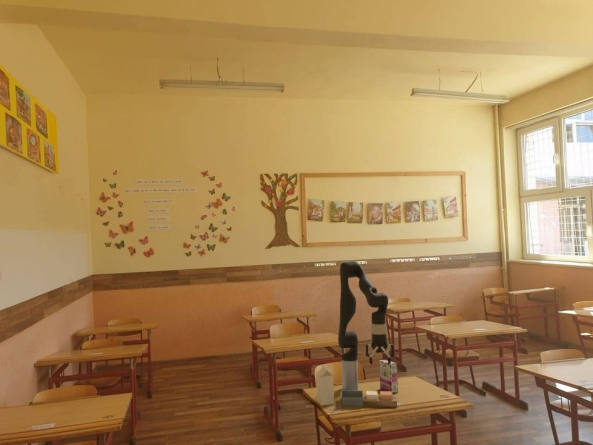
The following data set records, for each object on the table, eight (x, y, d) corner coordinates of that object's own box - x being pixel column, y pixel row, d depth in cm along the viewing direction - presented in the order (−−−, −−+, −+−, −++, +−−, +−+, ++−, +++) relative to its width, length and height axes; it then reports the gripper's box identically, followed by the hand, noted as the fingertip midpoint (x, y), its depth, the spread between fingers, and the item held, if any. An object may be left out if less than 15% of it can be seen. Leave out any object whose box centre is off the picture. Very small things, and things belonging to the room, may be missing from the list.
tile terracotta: (380, 395, 245) (380, 391, 245) (391, 396, 244) (391, 391, 244) (380, 399, 239) (380, 394, 239) (392, 399, 238) (392, 394, 238)
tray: (341, 399, 251) (341, 390, 251) (362, 399, 249) (362, 390, 249) (340, 407, 238) (340, 397, 238) (363, 407, 236) (362, 398, 237)
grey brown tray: (363, 399, 248) (363, 394, 248) (395, 400, 246) (395, 394, 246) (363, 406, 237) (363, 400, 237) (397, 407, 235) (397, 401, 235)
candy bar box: (398, 392, 259) (397, 363, 260) (391, 394, 257) (390, 364, 258) (386, 387, 269) (385, 359, 270) (379, 388, 267) (378, 360, 268)
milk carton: (321, 406, 240) (320, 369, 241) (317, 401, 247) (316, 366, 248) (334, 404, 242) (333, 367, 243) (329, 400, 249) (328, 364, 250)
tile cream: (366, 395, 246) (365, 391, 246) (377, 395, 245) (377, 391, 245) (366, 399, 240) (366, 394, 240) (378, 399, 239) (377, 394, 239)
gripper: (392, 331, 238) (393, 362, 237) (364, 331, 240) (366, 362, 239) (393, 333, 230) (394, 366, 230) (364, 333, 233) (366, 366, 232)
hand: (380, 364), depth 234 cm, fingers open, 8 cm apart
